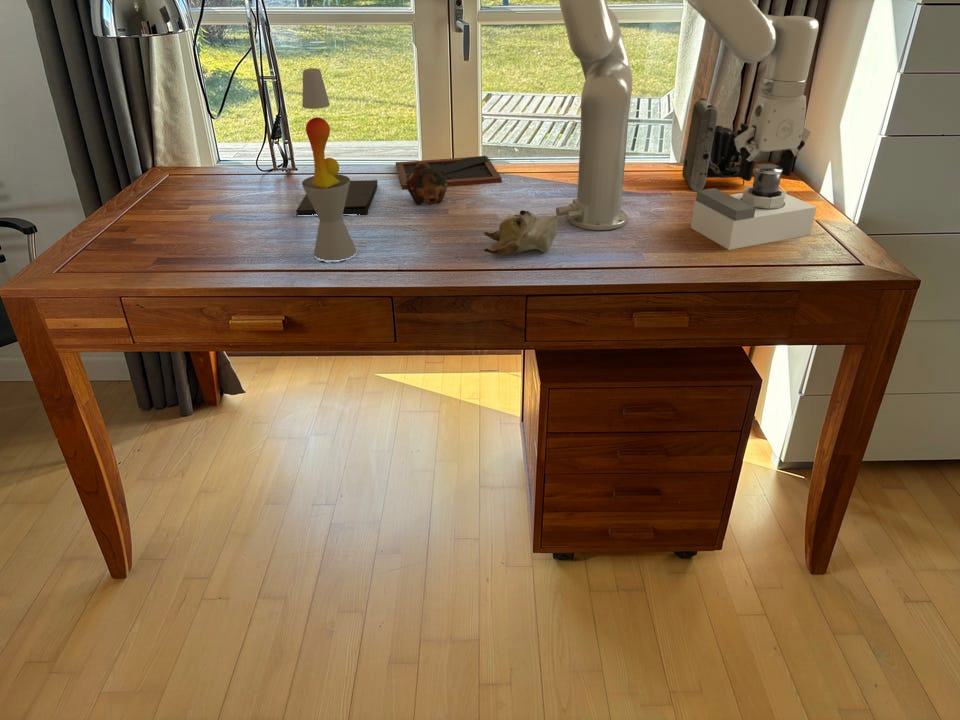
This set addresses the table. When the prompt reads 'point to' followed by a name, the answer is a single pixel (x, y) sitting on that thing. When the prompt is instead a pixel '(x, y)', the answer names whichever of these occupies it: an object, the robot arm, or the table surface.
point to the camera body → (750, 217)
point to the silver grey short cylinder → (766, 180)
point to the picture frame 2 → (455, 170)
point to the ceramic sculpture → (523, 234)
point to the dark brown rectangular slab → (348, 199)
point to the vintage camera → (709, 148)
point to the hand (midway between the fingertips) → (764, 176)
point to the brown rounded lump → (426, 185)
